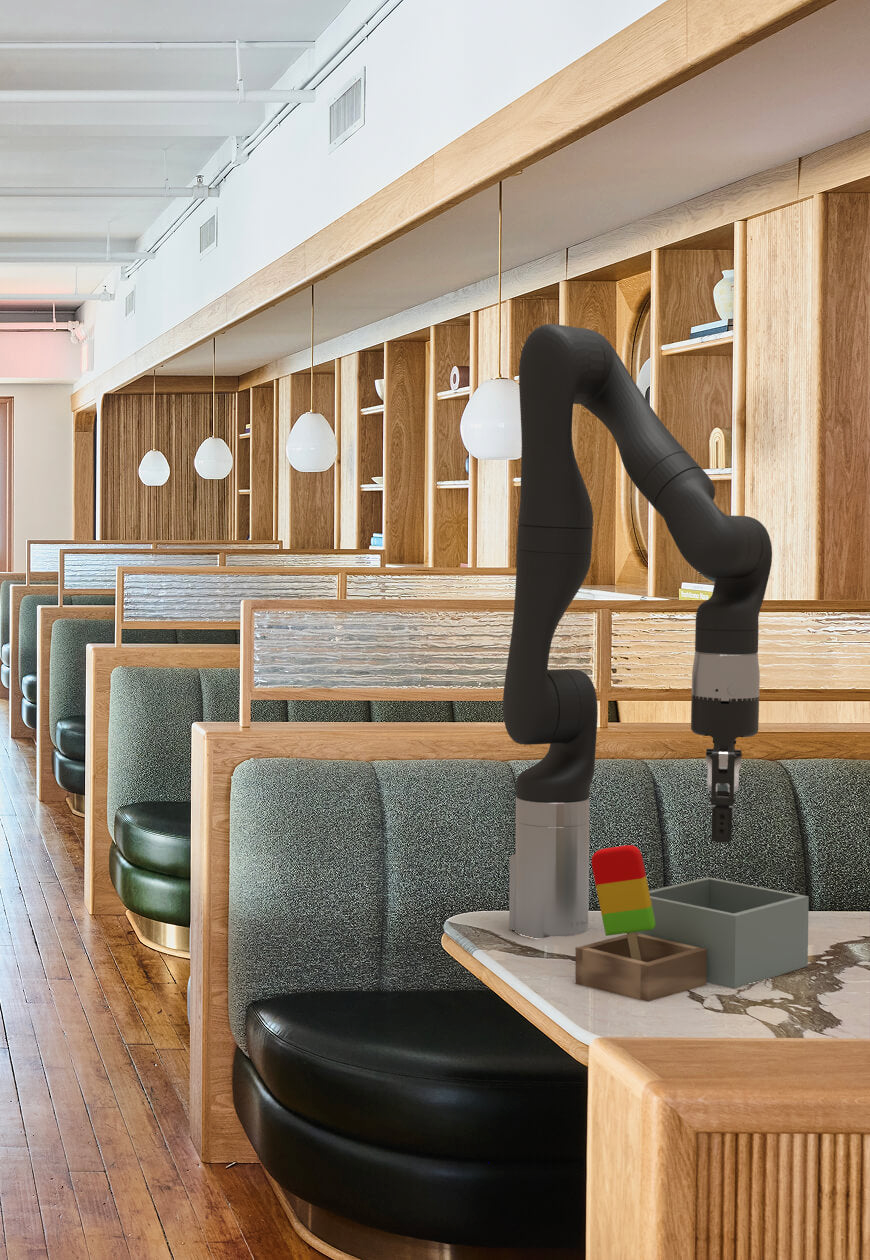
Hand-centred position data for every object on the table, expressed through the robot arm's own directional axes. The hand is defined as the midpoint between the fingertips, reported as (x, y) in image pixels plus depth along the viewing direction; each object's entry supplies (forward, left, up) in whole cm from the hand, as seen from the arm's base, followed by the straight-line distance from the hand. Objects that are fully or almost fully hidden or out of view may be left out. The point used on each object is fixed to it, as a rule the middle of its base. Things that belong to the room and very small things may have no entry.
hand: (721, 834), depth 168 cm
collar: (-1, -13, -15) cm, 20 cm away
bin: (0, 0, -15) cm, 15 cm away
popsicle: (-1, -13, -15) cm, 20 cm away
